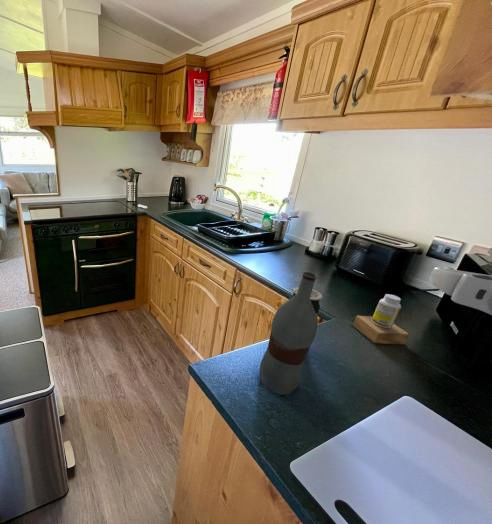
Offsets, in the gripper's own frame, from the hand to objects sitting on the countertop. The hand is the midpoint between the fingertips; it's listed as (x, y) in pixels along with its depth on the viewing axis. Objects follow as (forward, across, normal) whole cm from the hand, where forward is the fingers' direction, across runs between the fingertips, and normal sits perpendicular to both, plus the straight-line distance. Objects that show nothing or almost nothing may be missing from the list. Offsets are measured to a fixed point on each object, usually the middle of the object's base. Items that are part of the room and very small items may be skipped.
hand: (470, 274), depth 70 cm
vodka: (-23, +38, +30) cm, 54 cm away
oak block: (+16, +5, +30) cm, 34 cm away
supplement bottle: (+17, +5, +26) cm, 31 cm away
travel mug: (-4, +33, +30) cm, 45 cm away
